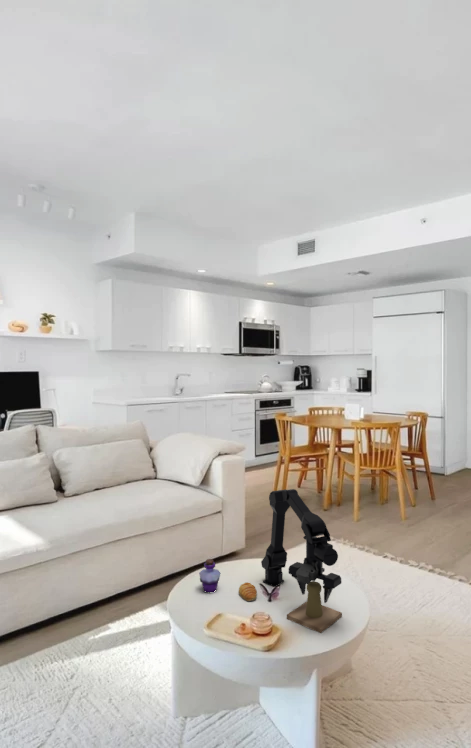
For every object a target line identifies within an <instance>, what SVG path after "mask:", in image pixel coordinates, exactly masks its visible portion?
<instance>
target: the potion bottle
mask: <svg viewBox="0 0 471 748" xmlns="http://www.w3.org/2000/svg"><path fill="white" fill-rule="evenodd" d="M203 565H204V566H203V567H204V569H201V570H200V571H199V572H198V575H199V582H200V583H201V585H202V590H203V589H204V591H206V592H214V591H215V590H216V591H218V590H217V589H218V584H219V581H220V577H221V571H220V570H219V569H216V562H215V561H214V559H213V558H207V559H206V561H205V562H204V563H203ZM204 591H203V592H204ZM216 591H215V592H216ZM206 592H205V593H206ZM215 592H214V593H215Z"/></svg>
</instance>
